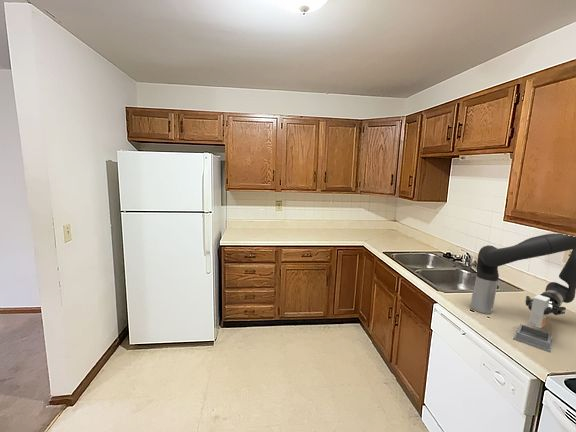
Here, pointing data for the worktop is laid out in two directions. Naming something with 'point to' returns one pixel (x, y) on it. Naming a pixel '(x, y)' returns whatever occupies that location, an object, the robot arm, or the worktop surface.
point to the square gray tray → (534, 337)
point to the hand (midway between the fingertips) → (537, 310)
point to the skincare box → (538, 311)
